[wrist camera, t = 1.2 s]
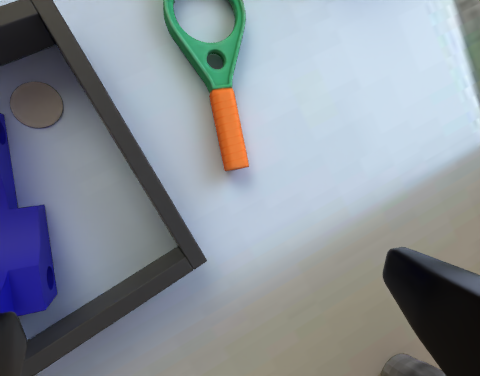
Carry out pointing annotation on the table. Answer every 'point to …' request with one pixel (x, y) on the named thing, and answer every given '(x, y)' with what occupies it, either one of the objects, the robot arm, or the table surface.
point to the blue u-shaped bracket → (22, 246)
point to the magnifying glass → (217, 80)
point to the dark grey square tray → (49, 111)
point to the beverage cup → (409, 367)
